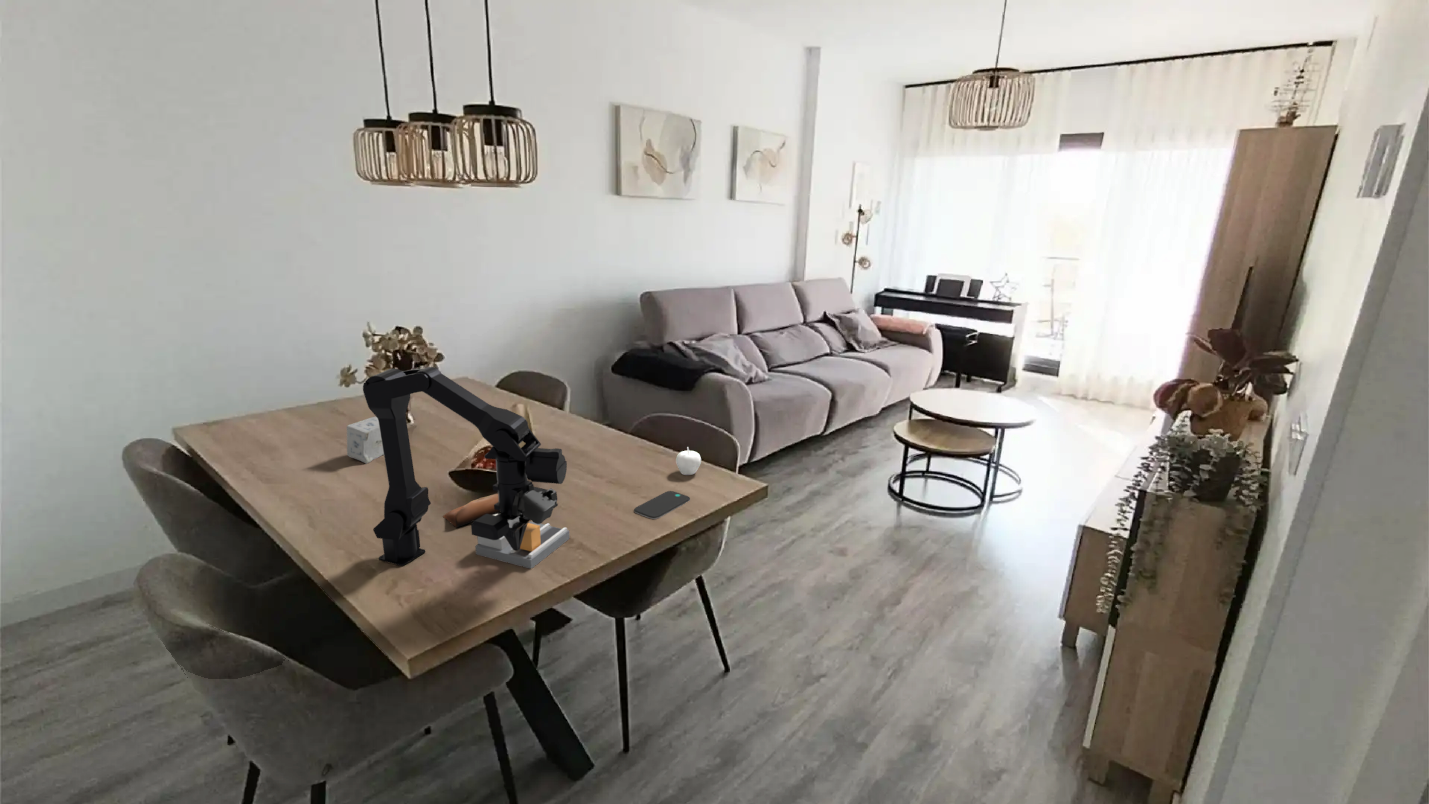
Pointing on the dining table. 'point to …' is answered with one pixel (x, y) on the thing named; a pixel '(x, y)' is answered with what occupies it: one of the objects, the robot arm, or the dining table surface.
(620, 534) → the dining table surface
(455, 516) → the sunglasses case
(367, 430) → the white printed carton
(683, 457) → the plain white apple
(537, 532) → the slider knob
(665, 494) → the smartphone
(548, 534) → the panel
